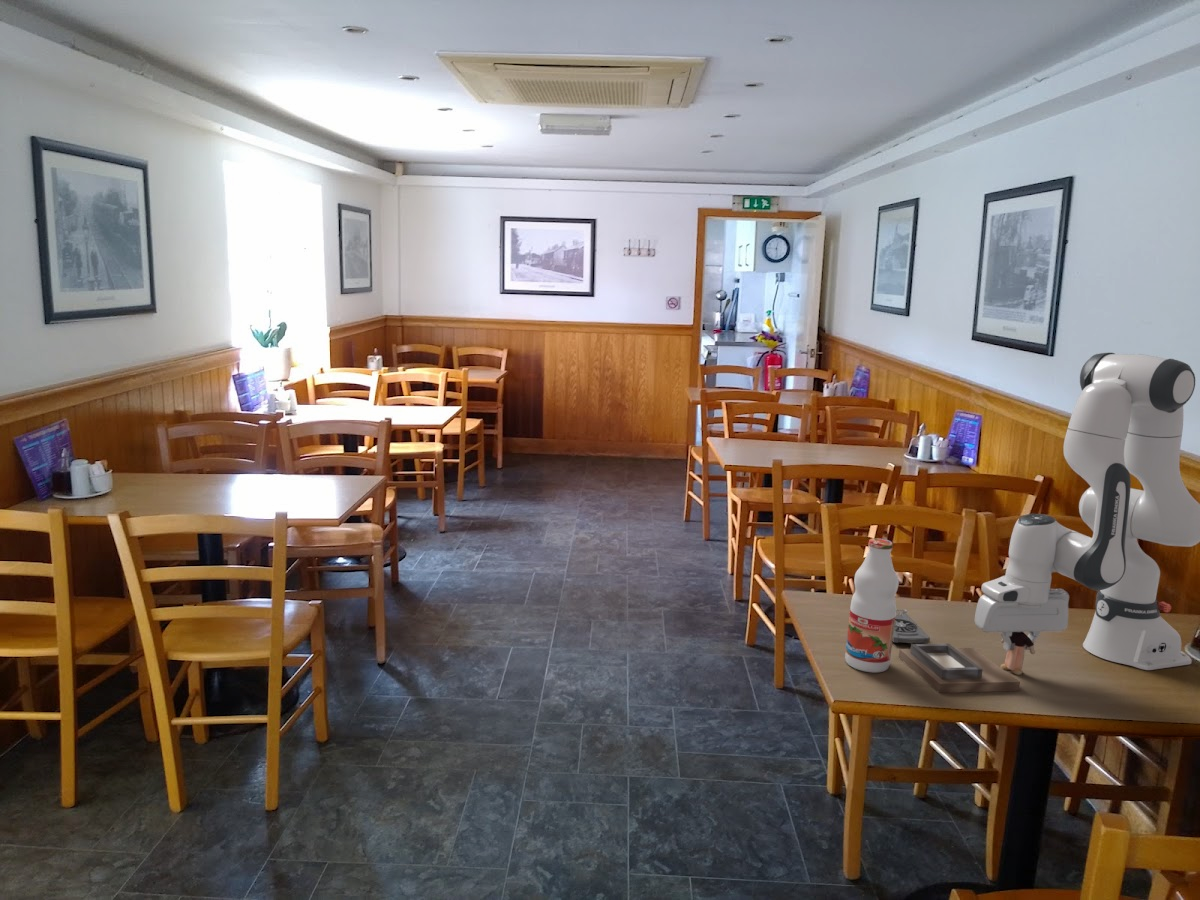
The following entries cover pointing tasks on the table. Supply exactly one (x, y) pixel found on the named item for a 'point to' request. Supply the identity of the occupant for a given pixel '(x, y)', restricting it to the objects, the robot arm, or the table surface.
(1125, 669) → the table surface
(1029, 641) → the grandmother figurine
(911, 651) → the display stand
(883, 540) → the fruit juice
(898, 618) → the graphics card
